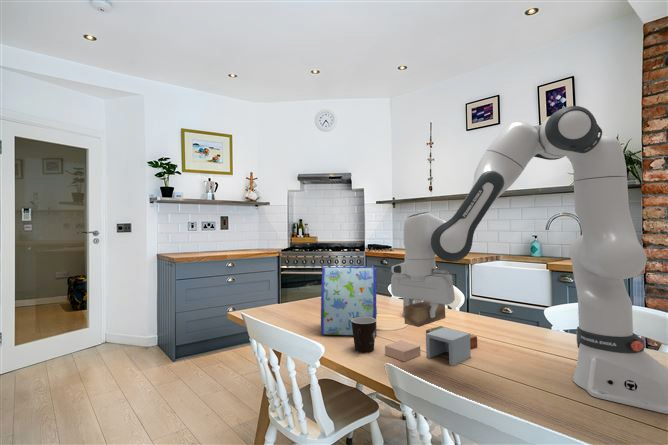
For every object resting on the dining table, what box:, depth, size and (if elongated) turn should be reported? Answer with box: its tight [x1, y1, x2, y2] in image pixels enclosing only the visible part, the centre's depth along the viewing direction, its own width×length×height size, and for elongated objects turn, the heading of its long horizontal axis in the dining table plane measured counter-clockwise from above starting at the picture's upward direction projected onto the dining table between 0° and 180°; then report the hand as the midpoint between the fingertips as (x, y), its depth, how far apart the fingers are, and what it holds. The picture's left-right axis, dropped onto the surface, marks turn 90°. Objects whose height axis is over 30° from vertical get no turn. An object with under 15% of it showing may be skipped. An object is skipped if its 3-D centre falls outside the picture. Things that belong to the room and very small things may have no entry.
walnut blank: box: [403, 301, 446, 328], centre depth 105 cm, size 5×13×5 cm, turn 129°
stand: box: [384, 340, 421, 362], centre depth 115 cm, size 8×8×3 cm
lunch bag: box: [320, 265, 378, 337], centre depth 143 cm, size 22×17×26 cm
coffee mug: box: [351, 317, 377, 354], centre depth 120 cm, size 12×9×10 cm
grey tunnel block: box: [425, 326, 472, 367], centre depth 113 cm, size 9×10×8 cm
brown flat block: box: [425, 325, 478, 351], centre depth 126 cm, size 8×16×4 cm, turn 32°
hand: (422, 315), depth 104 cm, fingers closed on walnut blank, 5 cm apart
